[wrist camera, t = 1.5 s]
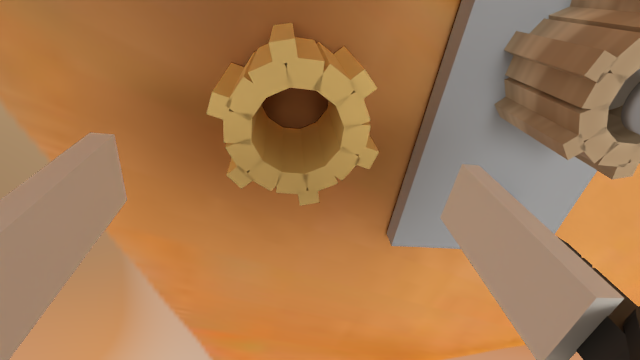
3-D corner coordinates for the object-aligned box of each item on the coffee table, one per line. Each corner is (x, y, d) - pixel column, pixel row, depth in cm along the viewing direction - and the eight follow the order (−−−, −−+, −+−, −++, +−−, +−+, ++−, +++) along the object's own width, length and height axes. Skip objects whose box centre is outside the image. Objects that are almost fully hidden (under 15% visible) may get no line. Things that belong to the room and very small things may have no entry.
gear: (533, -24, 17) (640, -26, 12) (666, 1, 18) (814, 9, 13) (472, 126, 21) (530, 172, 16) (583, 138, 23) (669, 184, 17)
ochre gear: (226, 12, 18) (202, 25, 13) (373, 34, 19) (404, 53, 14) (227, 149, 22) (210, 200, 17) (347, 159, 23) (364, 209, 18)
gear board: (477, -49, 17) (601, -68, 11) (688, -8, 20) (905, -1, 13) (386, 233, 28) (419, 317, 21) (531, 240, 30) (604, 318, 23)
